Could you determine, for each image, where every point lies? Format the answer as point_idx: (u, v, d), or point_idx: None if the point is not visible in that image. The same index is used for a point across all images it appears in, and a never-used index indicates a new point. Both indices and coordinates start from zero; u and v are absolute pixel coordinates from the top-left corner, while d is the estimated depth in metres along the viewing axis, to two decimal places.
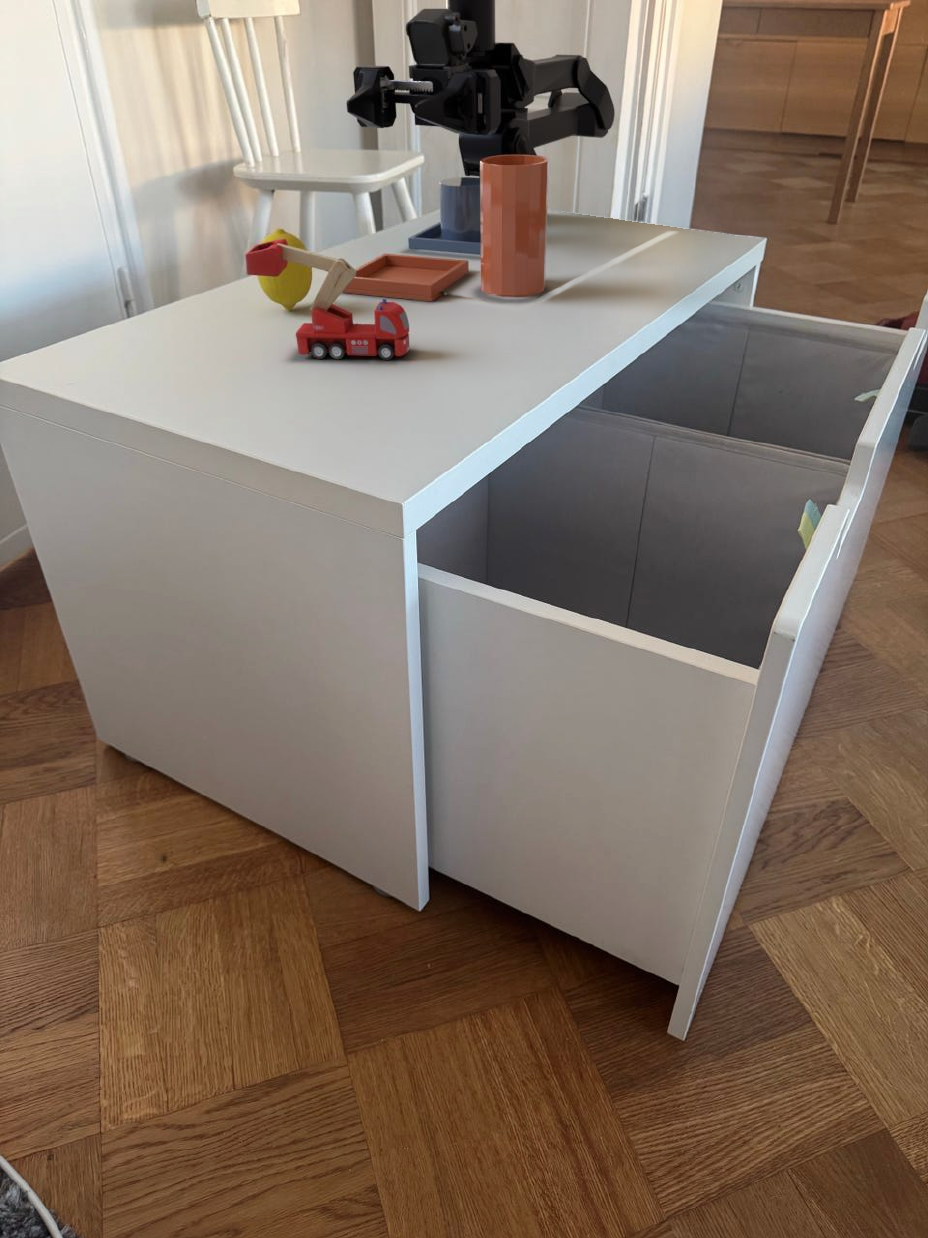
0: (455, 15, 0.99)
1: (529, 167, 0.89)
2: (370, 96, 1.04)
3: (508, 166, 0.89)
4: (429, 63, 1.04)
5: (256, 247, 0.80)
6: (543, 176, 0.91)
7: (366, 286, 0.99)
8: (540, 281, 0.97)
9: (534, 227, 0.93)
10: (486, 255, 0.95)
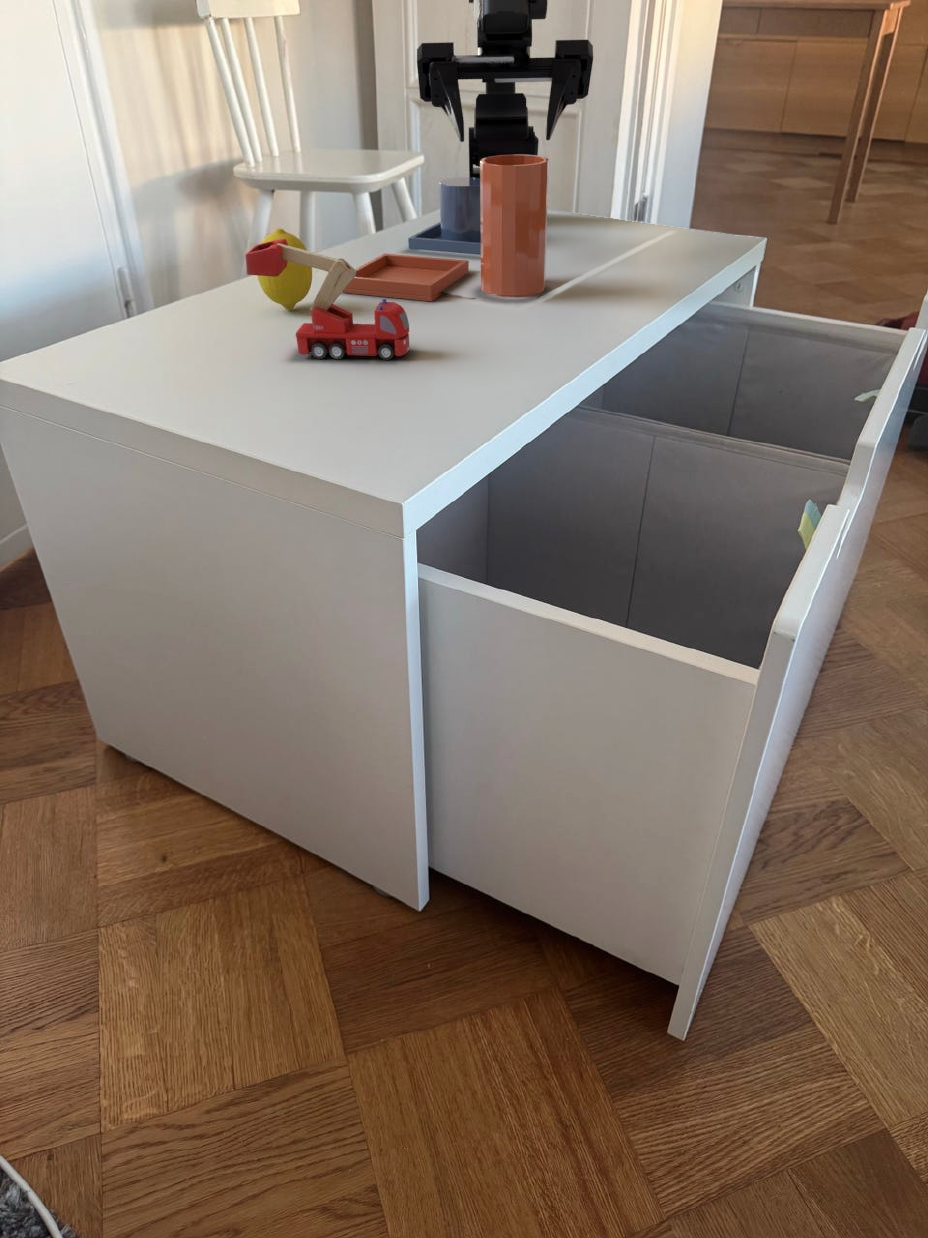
0: None
1: (529, 167, 0.89)
2: None
3: (508, 166, 0.89)
4: (500, 30, 0.96)
5: (256, 247, 0.80)
6: (543, 176, 0.91)
7: (366, 286, 0.99)
8: (540, 281, 0.97)
9: (534, 227, 0.93)
10: (486, 255, 0.95)
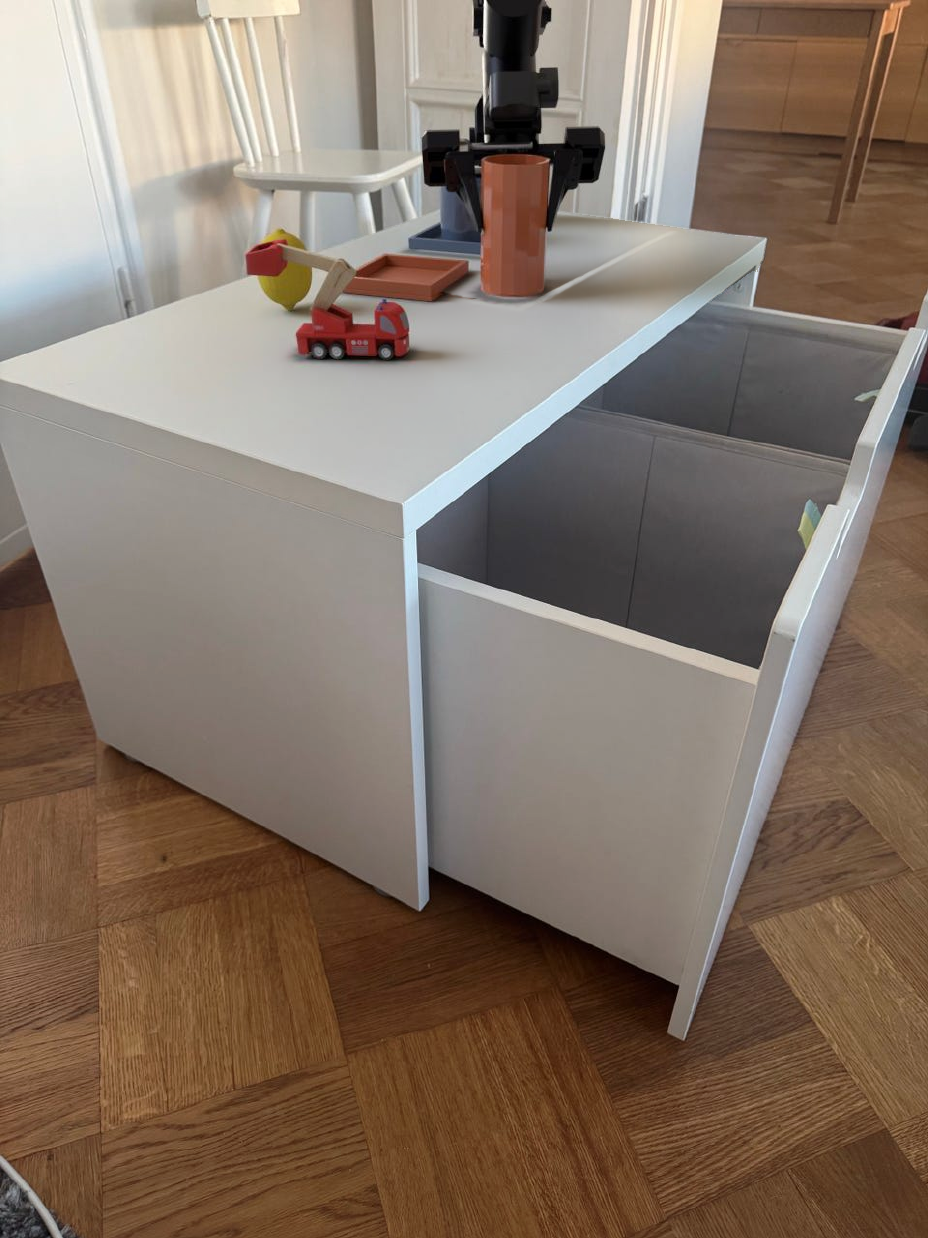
0: (549, 85, 0.88)
1: (530, 167, 0.89)
2: None
3: (509, 165, 0.89)
4: (508, 118, 0.93)
5: (256, 247, 0.80)
6: (544, 176, 0.91)
7: (366, 286, 0.99)
8: (540, 281, 0.97)
9: (534, 227, 0.93)
10: (486, 254, 0.95)
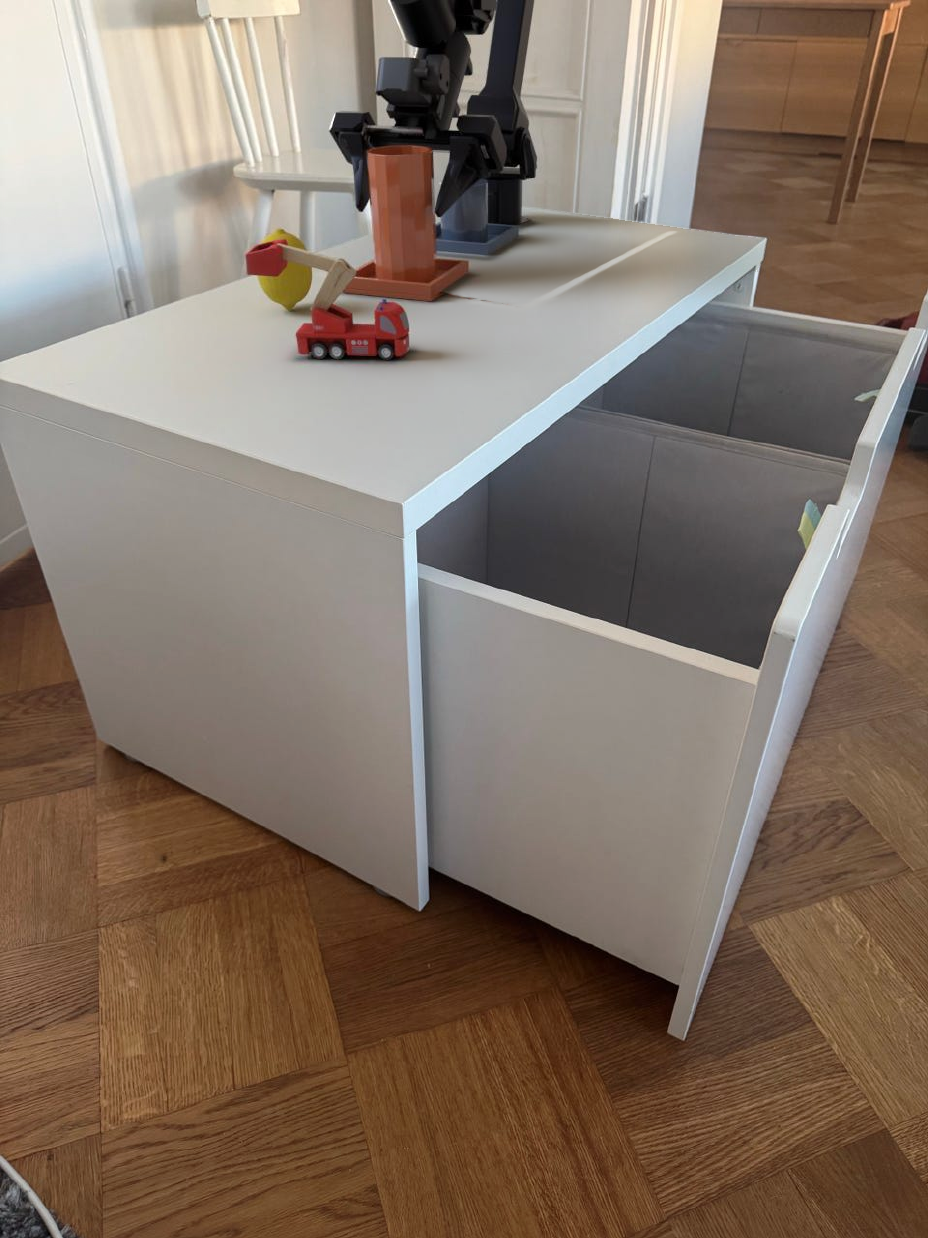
0: (427, 71, 0.90)
1: (398, 158, 0.92)
2: (366, 169, 0.99)
3: (379, 155, 0.93)
4: (407, 103, 0.95)
5: (256, 247, 0.80)
6: (417, 167, 0.93)
7: (366, 286, 0.99)
8: (421, 270, 0.99)
9: (408, 217, 0.95)
10: (373, 240, 0.99)
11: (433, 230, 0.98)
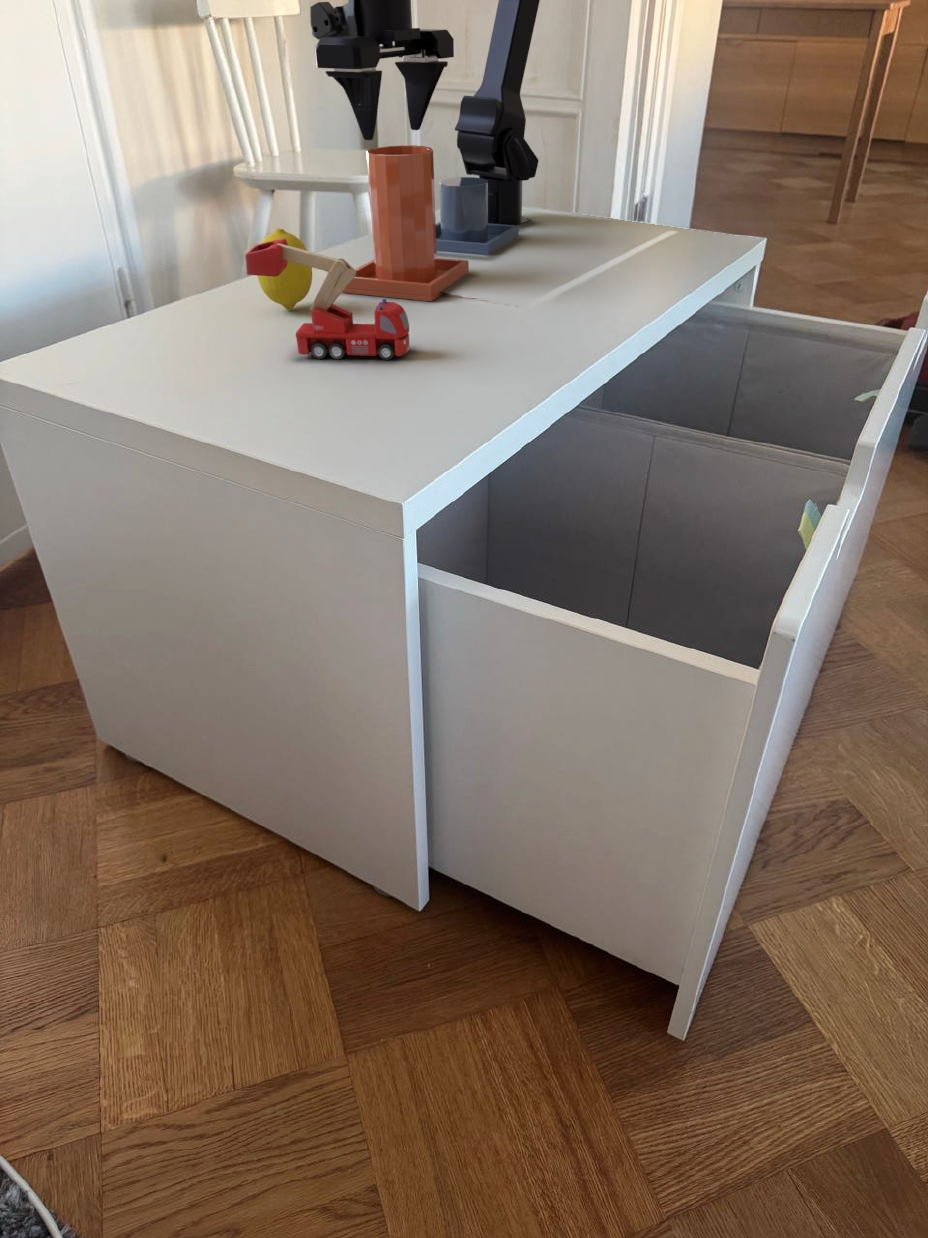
0: (313, 33, 1.03)
1: (398, 158, 0.92)
2: (410, 87, 1.09)
3: (379, 155, 0.93)
4: None
5: (256, 247, 0.80)
6: (417, 167, 0.93)
7: (366, 286, 0.99)
8: (421, 270, 0.99)
9: (408, 217, 0.95)
10: (373, 240, 0.99)
11: (433, 230, 0.98)
